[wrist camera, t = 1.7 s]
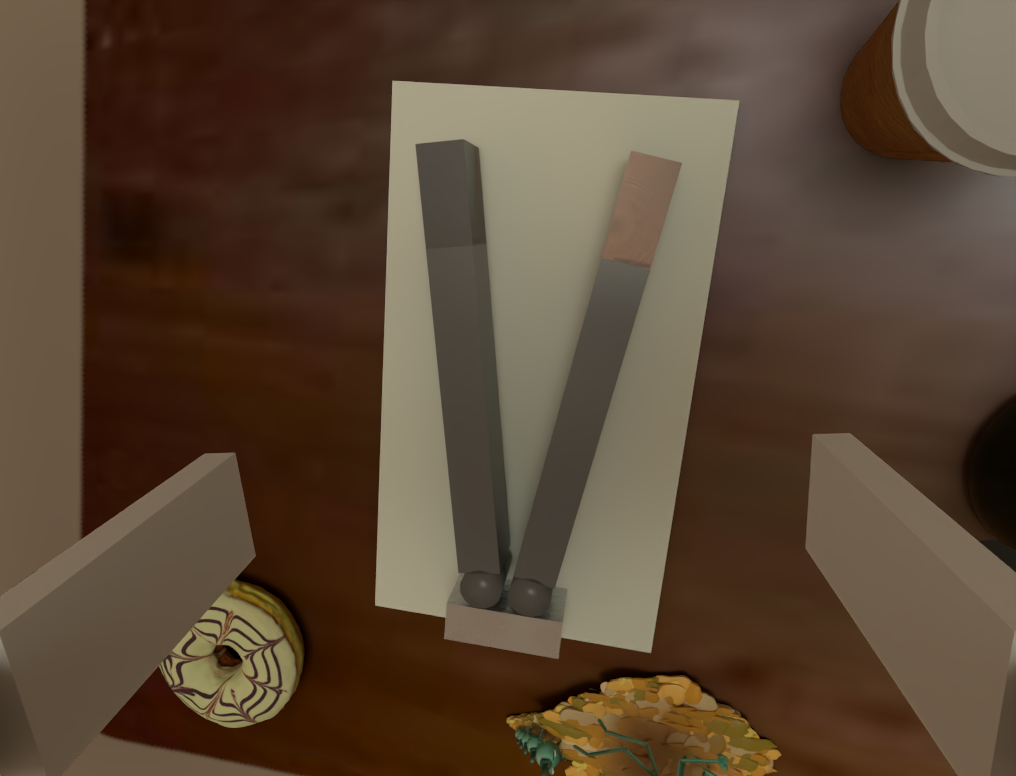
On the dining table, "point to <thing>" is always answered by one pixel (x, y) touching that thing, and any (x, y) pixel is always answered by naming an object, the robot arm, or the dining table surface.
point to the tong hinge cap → (506, 624)
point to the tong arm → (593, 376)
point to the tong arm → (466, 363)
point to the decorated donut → (233, 682)
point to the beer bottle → (996, 477)
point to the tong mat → (550, 335)
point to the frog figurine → (645, 733)
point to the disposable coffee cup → (938, 85)
